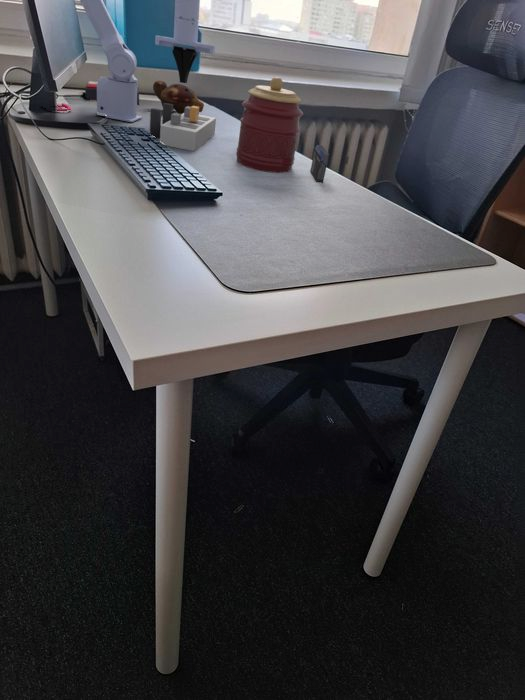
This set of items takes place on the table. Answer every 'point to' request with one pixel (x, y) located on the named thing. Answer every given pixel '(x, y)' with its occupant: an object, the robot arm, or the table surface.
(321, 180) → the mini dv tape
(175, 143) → the breaker panel
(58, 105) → the fitness band
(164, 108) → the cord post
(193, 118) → the block
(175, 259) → the table surface
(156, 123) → the disc
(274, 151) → the canister
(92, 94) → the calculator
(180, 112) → the decorative turtle
